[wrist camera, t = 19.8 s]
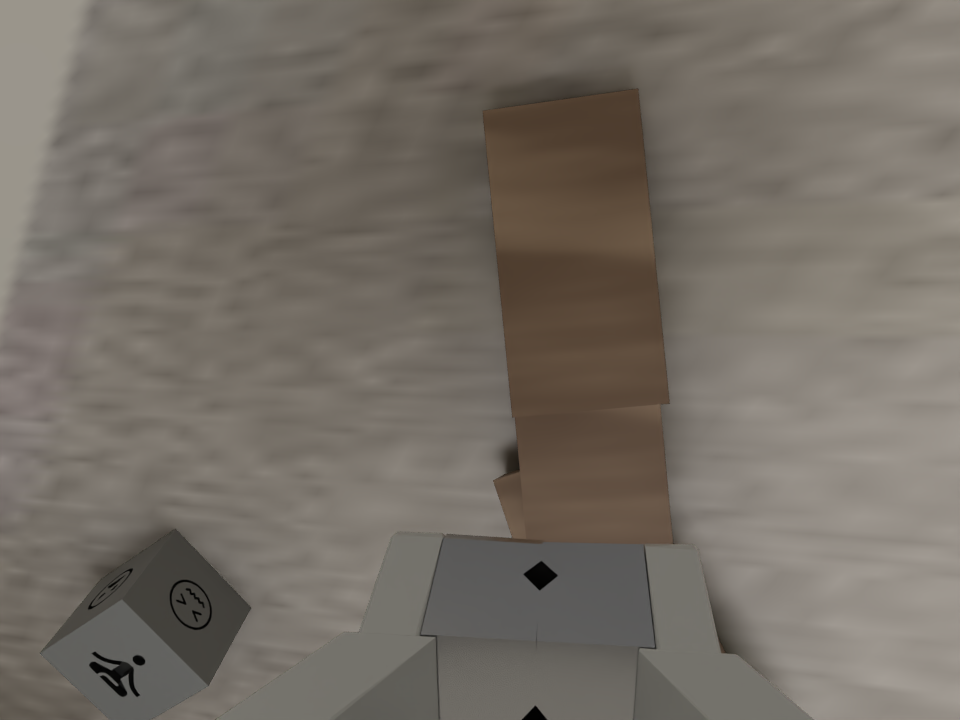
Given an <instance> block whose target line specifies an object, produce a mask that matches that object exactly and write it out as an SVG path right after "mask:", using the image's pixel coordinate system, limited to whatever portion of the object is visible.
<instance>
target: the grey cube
mask: <svg viewBox="0 0 960 720" xmlns="http://www.w3.org/2000/svg"><path fill="white" fill-rule="evenodd" d="M250 609H251V607H250V606H249V605H248V604H247V603H246V602H245V601H244V600H243V599H242V598H241V597H240V596H239V595H238V594H237V592H236V591H235V590H234V589H233V588H232V587H231V586H230V585H229V584H228V583H227V582H226V581H225V580H224V579H223V578H222V577H221V576H220V575H219V574H218V573H217V572H216V570H215V569H214V568H213V567H212V566H211V565H210V564H209V563H208V562H207V561H206V560H205V559H204V558H203V557H202V556H201V555H200V554H199V553H198V552H197V551H196V550H195V548H194V547H193V546H192V545H191V544H190V543H189V542H188V541H187V540H186V539H185V538H184V537H183V536H182V535H181V534H180V533H179V532H178V531H177V530H176V529H175V530H173V531H172V532H170V533H169V534H167V535H166V536H164V537H163V538H161V539H160V540H158V541H157V542H155V543H154V544H152V545H151V546H149V547H148V548H147V549H145V550H144V551H142V552H141V553H139V554H138V555H136V556H135V557H133V558H132V559H130V560H129V561H127V562H126V563H124V564H123V565H121V566H120V567H118V568H117V569H116V570H114V571H113V572H111V573H110V574H108V575H107V576H105V577H104V578H102V579H101V580H100V581H99V582H98V583H97V585H96V586H95V587H94V588H93V589H92V591H91V592H90V593H89V594H88V595H87V597H86V598H85V599H84V600H83V602H82V603H81V604H80V605H79V606H78V608H77V609H76V610H75V611H74V612H73V614H72V615H71V616H70V617H69V619H68V620H67V621H66V622H65V623H64V625H63V626H62V627H61V628H60V629H59V631H58V632H57V633H56V634H55V636H54V637H53V638H52V639H51V640H50V642H49V643H48V644H47V645H46V647H45V648H44V649H43V650H42V651H41V653H40V654H41V655H42V656H43V657H44V658H45V659H46V660H47V661H48V662H49V663H50V664H51V665H53V666H54V667H55V668H56V669H57V670H58V671H59V672H60V673H61V674H62V675H63V676H64V677H65V678H66V679H67V680H68V681H69V682H70V683H71V684H73V685H74V686H75V687H76V688H77V689H78V690H79V691H80V692H81V693H82V694H83V695H84V696H85V697H86V698H87V699H88V700H89V701H90V702H92V703H93V704H94V705H95V706H96V707H97V708H98V709H99V710H100V711H101V712H102V713H103V714H104V715H105V716H106V717H107V718H108V719H109V720H151V719H153V718H155V717H156V716H158V715H160V714H162V713H163V712H165V711H167V710H168V709H170V708H172V707H173V706H175V705H177V704H179V703H180V702H182V701H184V700H185V699H187V698H189V697H191V696H192V695H194V694H196V693H197V692H199V691H201V690H202V689H204V688H206V687H208V686H209V684H210V682H211V680H212V679H213V677H214V675H215V673H216V671H217V669H218V668H219V666H220V664H221V662H222V660H223V658H224V656H225V655H226V653H227V651H228V649H229V647H230V645H231V644H232V642H233V640H234V638H235V636H236V634H237V633H238V631H239V629H240V627H241V625H242V623H243V622H244V620H245V618H246V616H247V614H248V612H249V611H250Z"/></svg>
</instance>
